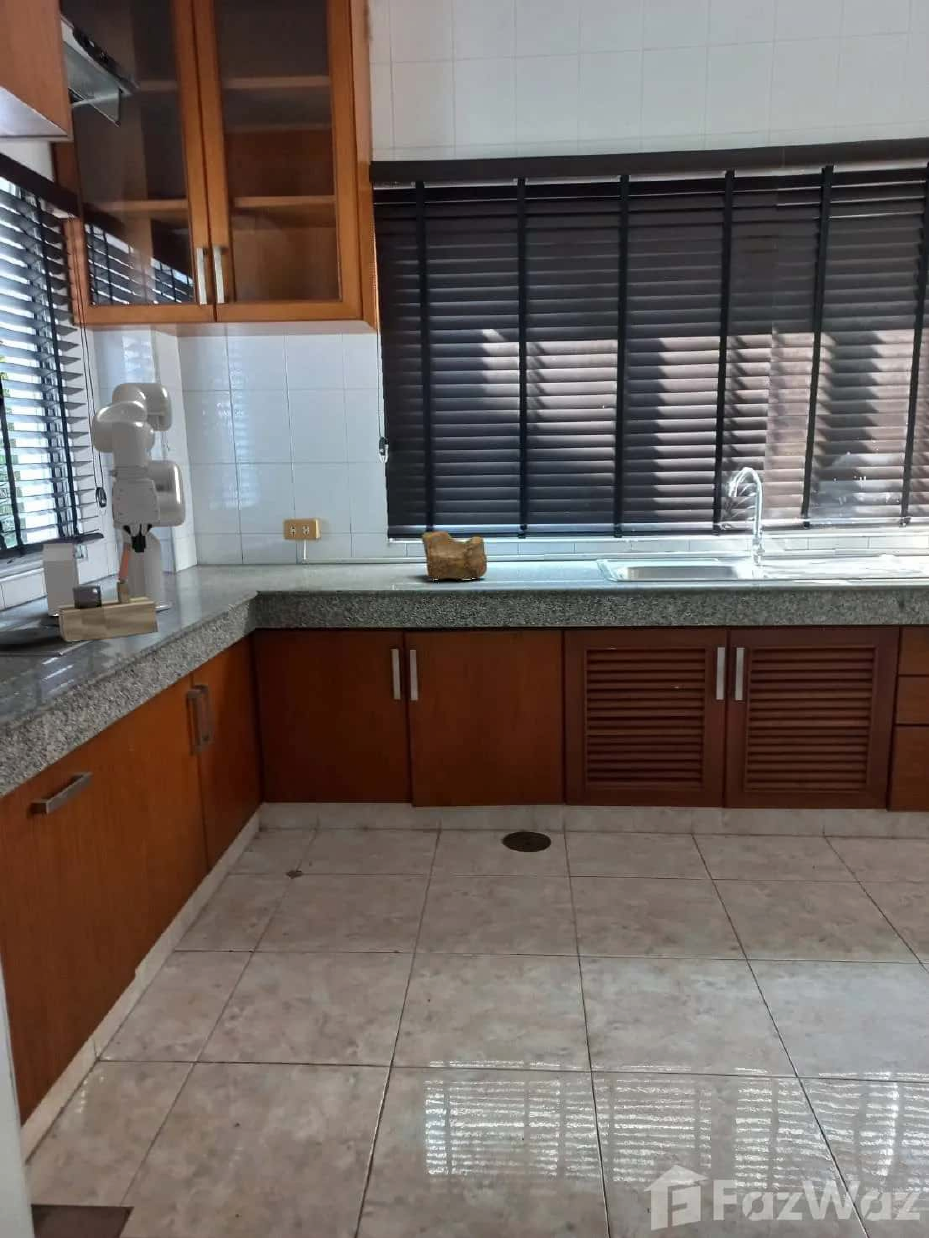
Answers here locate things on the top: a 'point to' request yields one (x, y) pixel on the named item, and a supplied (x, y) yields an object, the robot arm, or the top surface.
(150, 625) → the block
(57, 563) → the milk carton
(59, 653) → the top surface
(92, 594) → the dark grey metal block
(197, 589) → the top surface
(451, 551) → the rough brown rock
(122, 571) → the keeper bar
